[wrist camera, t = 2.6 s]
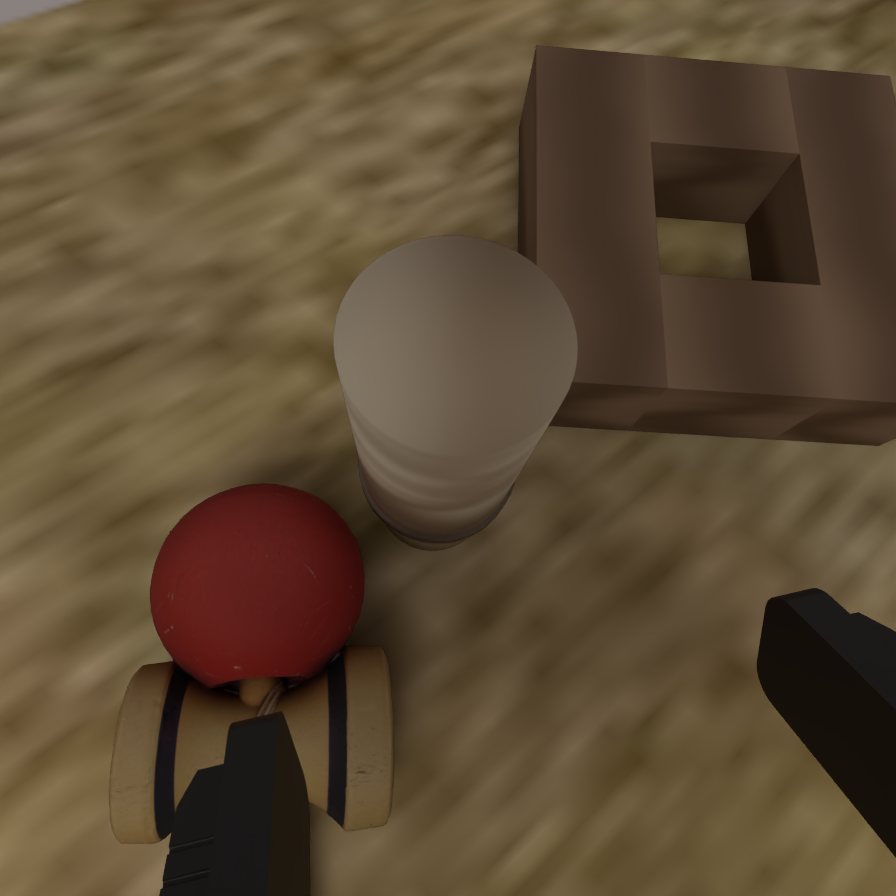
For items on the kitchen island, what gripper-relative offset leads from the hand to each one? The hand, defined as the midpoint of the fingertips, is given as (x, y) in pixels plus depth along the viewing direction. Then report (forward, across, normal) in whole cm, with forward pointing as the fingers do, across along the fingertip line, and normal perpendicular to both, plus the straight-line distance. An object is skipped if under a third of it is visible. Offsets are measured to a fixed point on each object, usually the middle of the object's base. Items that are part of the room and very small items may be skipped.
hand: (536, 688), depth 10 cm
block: (+17, -12, -1) cm, 21 cm away
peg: (+12, 0, +4) cm, 13 cm away
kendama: (+7, +7, +10) cm, 14 cm away
